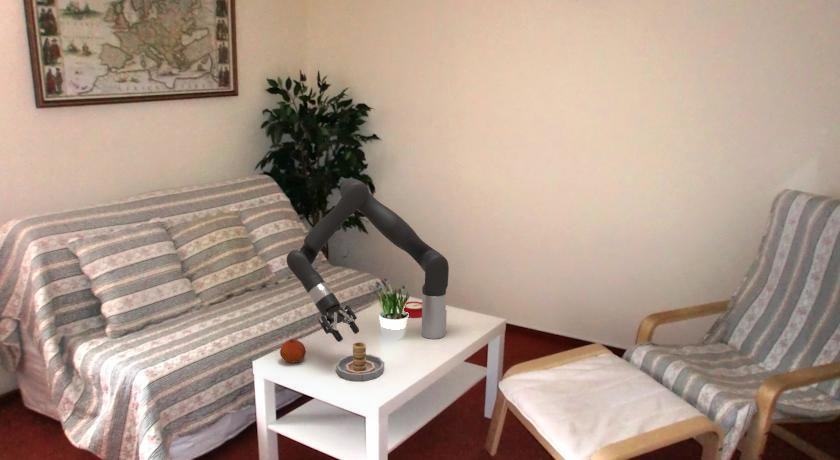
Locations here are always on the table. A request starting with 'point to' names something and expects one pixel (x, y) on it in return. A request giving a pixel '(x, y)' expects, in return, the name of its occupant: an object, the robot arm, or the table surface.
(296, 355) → the fruit
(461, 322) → the table surface
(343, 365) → the round tray
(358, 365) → the bead stack
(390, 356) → the table surface
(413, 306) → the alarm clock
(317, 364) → the table surface
